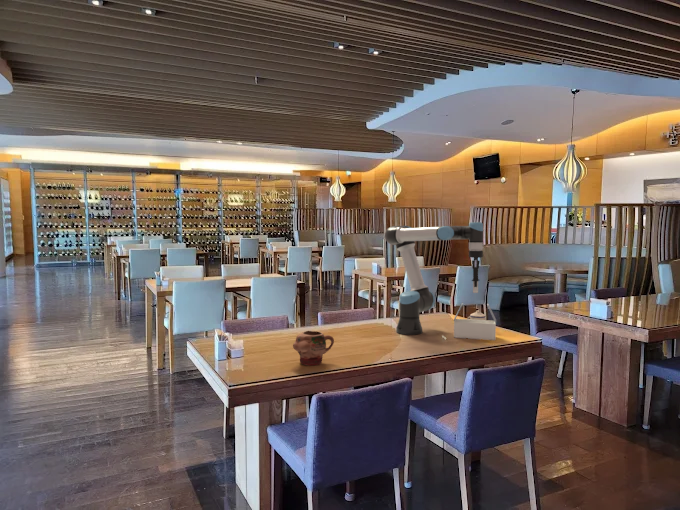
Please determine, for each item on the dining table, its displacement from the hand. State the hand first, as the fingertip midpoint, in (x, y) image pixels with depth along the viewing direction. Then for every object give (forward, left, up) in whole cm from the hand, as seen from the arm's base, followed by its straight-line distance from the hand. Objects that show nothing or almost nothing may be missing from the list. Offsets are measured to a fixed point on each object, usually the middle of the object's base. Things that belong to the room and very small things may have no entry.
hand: (475, 292), depth 266 cm
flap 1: (-9, 0, -11) cm, 14 cm away
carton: (0, 0, -25) cm, 25 cm away
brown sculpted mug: (-69, -71, -25) cm, 103 cm away
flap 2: (+9, 0, -11) cm, 14 cm away
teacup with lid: (0, +21, -25) cm, 33 cm away
